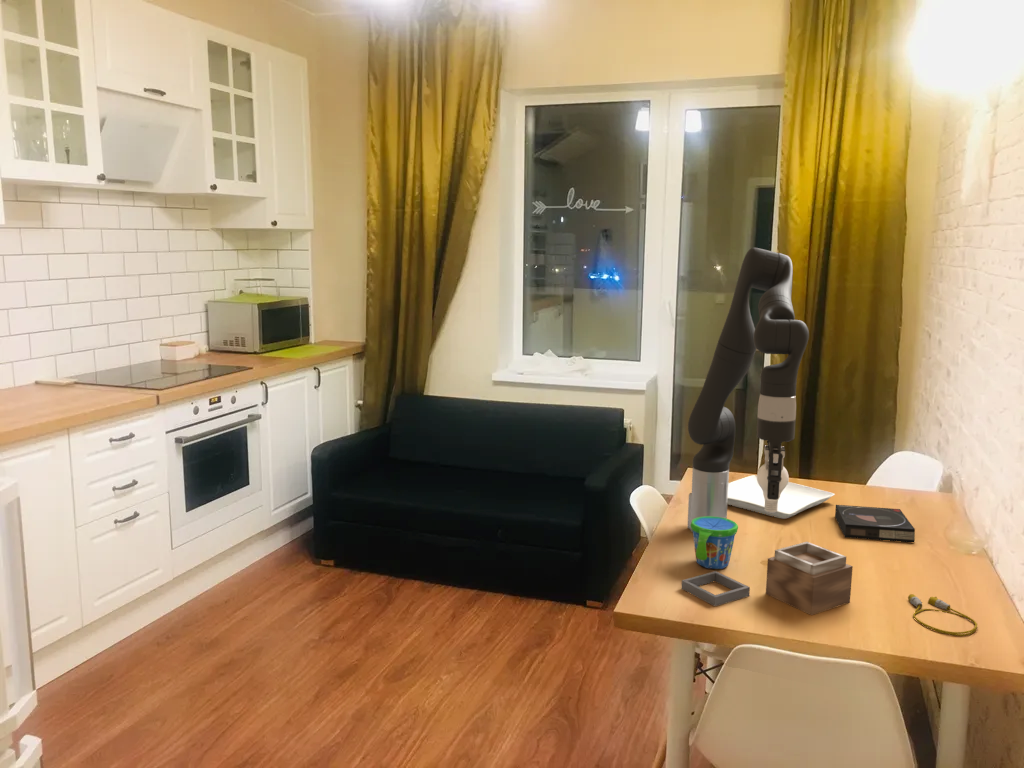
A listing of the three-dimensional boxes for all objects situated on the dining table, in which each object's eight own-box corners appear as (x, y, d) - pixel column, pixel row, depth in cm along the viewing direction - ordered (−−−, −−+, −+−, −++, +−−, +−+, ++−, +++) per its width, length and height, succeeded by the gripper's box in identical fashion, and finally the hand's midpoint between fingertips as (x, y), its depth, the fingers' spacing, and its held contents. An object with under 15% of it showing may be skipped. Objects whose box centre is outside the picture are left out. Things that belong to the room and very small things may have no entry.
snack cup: (707, 549, 200) (709, 510, 198) (748, 560, 193) (750, 519, 191) (675, 568, 188) (677, 526, 187) (717, 580, 181) (719, 536, 180)
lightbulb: (750, 508, 173) (753, 458, 171) (779, 508, 174) (782, 458, 172) (761, 518, 167) (764, 466, 165) (791, 517, 167) (794, 466, 165)
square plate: (752, 485, 256) (752, 473, 255) (835, 505, 236) (836, 492, 235) (702, 502, 238) (703, 490, 237) (788, 526, 218) (789, 512, 217)
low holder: (681, 588, 177) (681, 580, 176) (715, 579, 182) (715, 571, 181) (714, 606, 168) (715, 597, 168) (749, 595, 173) (749, 587, 173)
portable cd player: (844, 539, 208) (846, 525, 208) (834, 518, 225) (835, 504, 224) (914, 545, 204) (915, 530, 204) (898, 523, 221) (899, 509, 220)
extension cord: (972, 610, 168) (973, 600, 168) (980, 643, 154) (981, 633, 154) (907, 599, 173) (908, 590, 173) (909, 630, 159) (910, 621, 159)
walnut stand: (765, 593, 174) (768, 549, 173) (803, 582, 180) (806, 539, 179) (811, 615, 164) (814, 568, 163) (849, 602, 170) (853, 557, 169)
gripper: (797, 424, 159) (792, 506, 162) (793, 410, 173) (789, 486, 175) (758, 422, 161) (753, 502, 164) (756, 408, 175) (753, 483, 177)
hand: (772, 493), depth 170 cm, fingers closed on lightbulb, 6 cm apart
